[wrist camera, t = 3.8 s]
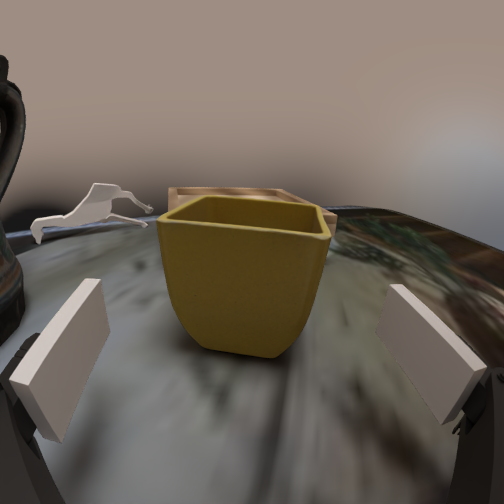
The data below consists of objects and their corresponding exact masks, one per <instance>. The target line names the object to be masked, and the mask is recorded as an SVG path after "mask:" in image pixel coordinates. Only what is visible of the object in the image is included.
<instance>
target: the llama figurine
mask: <svg viewBox="0 0 504 504" xmlns="http://www.w3.org/2000/svg"><path fill="white" fill-rule="evenodd" d="M116 197H128V198H130V199H131V200H132V201H133V202H134V203H135V204H137V205H138V206H140V207H142V208H143V209H145V210H146V211H147V213H149V214H150V213H151V211H152V210H153V209H151V208H150V207H147V206H145V205H144V204H142V203H140V202H139V201H138V200H137V199H136V198H135V197H134V195H133V194H132V193H130V192H128V191H121V188H120V187H119V186H117V185H110V184H99V183H94V184H93V186H92V187H91V189H90V191H89V193H88V195H87V196H86V197H85V198H84V199H83V200H82V202H81V203H80V204H79V205H78V206H77V207H76V208H75V210H74V211H73V212H71V213H69V214H68V215H66V216H62V215H59V216H51V217H45V218H38V219H35V221H34V222H33V224H32V225H31V228H30V229H31V230H32V235H33V236H34V238H35V239H36V243H38V244H41V238H42V235H43V231H42V227H43V226H48V227H49V226H59V227H73V226H80V225H84V224H88V223H92V222H97V221H101V222H102V223H106V222H108V221H110V220H113V221H121V222H127V223H132V224H137V225H140V226H143V228H144V227H146V226H148V224H146V223H145V222H143V221H140V220H136V219H132V218H127V217H123V216H120V215H116V214H113V213H110V211H111V208H112V204H111V200H112V199H115V198H116ZM148 206H149V205H148ZM145 213H146V212H145Z"/></svg>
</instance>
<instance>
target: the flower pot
mask: <svg viewBox="0 0 504 504" xmlns="http://www.w3.org/2000/svg"><path fill="white" fill-rule="evenodd" d="M156 223H157V230H158V237H159V243H160V249H161V256H162V262H163V267H164V273H165V278H166V283H167V288H168V292H169V296H170V300H171V303H172V306H173V308H174V311H175V313H176V315H177V317H178V319H179V320H180V322H181V323H182V325H183V327H184V328H185V329H186V331H187V332H188V333H189V334H190V335H191V336H192V337H193V339H194V340H196V341H197V342H198V343H199V344H200V345H201V346H202V347H204V348H207V349H212V350H218V351H225V352H232V353H238V354H244V355H251V356H258V357H265V358H275V357H277V356H279V355H280V354H281V353H283V352H284V351H285V350H286V349H287V348H288V347H289V346H290V345H291V344H292V343H293V342H294V341H295V340H296V339H297V337H298V336H299V335H300V333H301V331H302V330H303V328H304V326H305V324H306V322H307V320H308V317H309V315H310V312H311V309H312V306H313V303H314V300H315V296H316V293H317V289H318V286H319V282H320V279H321V275H322V272H323V268H324V264H325V260H326V256H327V252H328V249H329V245H330V242H331V238H332V235H331V233H330V230H329V228H328V227H327V224H326V222H325V221H324V218H323V215H322V211H321V208H320V207H319V206H318V205H312V204H304V203H295V202H286V201H275V200H265V199H254V198H243V197H231V196H217V195H204V196H201V197H198V198H196V199H193V200H191V201H189V202H187V203H185V204H183V205H181V206H179V207H177V208H175V209H173V210H171V211H169V212H167V213H165V214H163V215H162V216H160V217H159V218H158V219H157V220H156Z"/></svg>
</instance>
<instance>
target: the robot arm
mask: <svg viewBox="0 0 504 504" xmlns="http://www.w3.org/2000/svg"><path fill="white" fill-rule="evenodd" d="M109 333H110V329H109V324H108V319H107V313H106V308H105V302H104V296H103V290H102V284H101V279H87V278H86V279H85V280H84V281H83V282H82V283H81V285H80V286H79V287H78V288H77V289H76V290H75V292H74V293H73V294H72V295H71V296H70V298H69V299H68V300H67V301H66V302H65V304H64V305H63V306H62V307H61V309H60V310H59V311H58V312H57V314H56V315H55V316H54V317H53V319H52V320H51V321H50V323H49V324H48V325H47V326H46V328H45V329H44V330H43V332H42V333H41V334H40V333H35V334H33V335H32V336H30V337H29V338H28V339H26V340H25V342H24V343H23V344H22V346H21V347H20V348H19V349H20V350H18V351H17V352H16V354H15V355H14V357H13V358H12V359H11V360H10V362H9V363H8V365H7V366H6V367H5V369H4V370H3V372H2V373H1V375H0V504H65V502H64V501H63V499H62V497H61V495H60V493H59V491H58V489H57V487H56V485H55V483H54V481H53V479H52V476H51V474H50V472H49V470H48V468H47V465H46V463H45V461H44V458H43V456H42V453H41V451H40V448H39V446H38V443H37V441H36V439H35V437H34V436H33V434H34V432H35V430H36V428H37V429H38V431H39V432H40V434H41V435H42V437H43V438H45V439H49V440H52V441H55V442H59V443H62V442H63V439H64V436H65V434H66V431H67V428H68V426H69V423H70V421H71V418H72V416H73V413H74V411H75V408H76V406H77V403H78V401H79V399H80V396H81V394H82V392H83V389H84V387H85V385H86V382H87V380H88V378H89V376H90V373H91V371H92V369H93V367H94V365H95V362H96V360H97V358H98V356H99V354H100V352H101V350H102V348H103V346H104V343H105V341H106V339H107V337H108V335H109ZM376 334H377V335H378V336H379V338H380V339H381V340H382V342H383V343H384V344H385V346H386V347H387V349H388V350H389V351H390V353H391V354H392V355H393V357H394V358H395V360H396V361H397V362H398V364H399V365H400V367H401V368H402V369H403V371H404V372H405V374H406V375H407V376H408V378H409V379H410V381H411V382H412V384H413V385H414V386H415V388H416V389H417V391H418V392H419V394H420V395H421V397H422V398H423V400H424V401H425V403H426V404H427V405H428V407H429V408H430V410H431V411H432V413H433V414H434V416H435V417H436V419H437V420H438V422H439V423H440V425H443V424H445V423H448V422H450V421H453V420H454V419H455V418H456V416H457V415H458V413H459V412H460V411H461V409H462V410H463V412H464V413H465V414H464V416H463V417H462V419H461V420H460V421H459V423H458V424H457V426H456V427H455V428H454V430H453V432H452V434H455V432H456V431H457V430H458V429H459V428H460V431H459V433H458V434H457V435H459V443H458V450H457V456H456V462H455V468H454V473H453V478H452V483H451V487H450V491H449V496H448V500H447V503H446V504H504V368H501V367H497V368H494V369H492V368H491V367H490V366H489V365H488V364H487V363H486V362H485V361H484V360H483V359H482V358H481V357H480V356H479V355H478V354H477V353H476V352H475V351H473V348H472V347H471V346H470V345H468V343H467V342H465V341H464V340H463V339H462V338H461V337H460V336H459V335H457V334H455V333H454V332H453V331H452V330H451V329H450V328H449V327H447V326H446V325H445V324H444V323H443V322H442V321H441V320H440V319H439V318H438V317H437V316H436V315H435V314H434V313H433V312H432V311H431V310H430V309H428V308H427V307H426V306H425V305H424V304H423V303H422V302H421V301H420V300H419V299H418V298H417V297H415V296H414V295H413V294H412V293H411V292H410V291H409V290H408V289H407V288H405V287H404V286H403V285H402V284H391V285H389V288H388V292H387V295H386V299H385V303H384V306H383V310H382V313H381V316H380V320H379V323H378V326H377V329H376Z"/></svg>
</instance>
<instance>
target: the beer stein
mask: <svg viewBox="0 0 504 504" xmlns="http://www.w3.org/2000/svg"><path fill="white" fill-rule="evenodd" d="M8 68H9V66H8V60H7V59H6V57H4V56H3V55H0V129H1V133H0V202H1V200H2V198H3V196H4V193H5V191H6V189H7V187H8V185H9V182H10V180H11V177H12V175H13V173H14V170H15V167H16V164H17V162H18V159H19V156H20V152H21V149H22V145H23V141H24V134H25V128H26V115H25V108H24V104H23V101H22V96H21V91H20V90H19V88H18V87H17V86H16V85H15V84H14V83H12V82H10V81H8V80H7V75H8ZM24 311H25V303H24V293H23V272H22V268H21V265H20V263H19V262H18V260H17V258H16V257H15V255H14V254H13V252H12V250H11V248H10V246H9V243H8V241H7V238H6V235H5V232H4V229H3V226H2V222H1V219H0V346H1V345H2V344H3V343H4V342H5V341H6V340H7V338H8V337H9V336H10V335H11V334H12V333H13V332H14V331H15V330H16V329H17V328H18V327H19V324H20V321H21V319H22V316H23V313H24Z"/></svg>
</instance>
